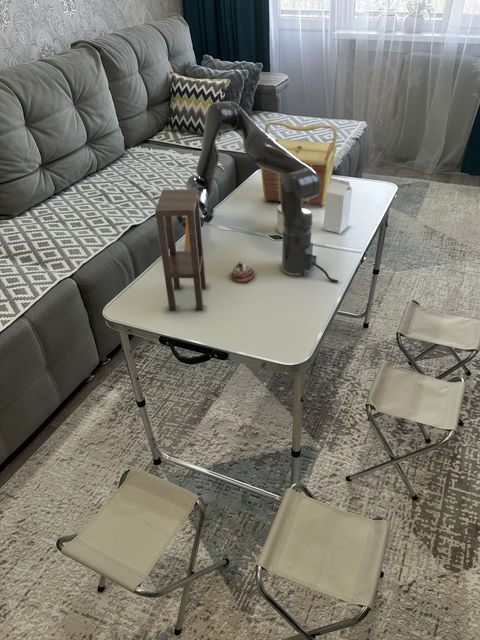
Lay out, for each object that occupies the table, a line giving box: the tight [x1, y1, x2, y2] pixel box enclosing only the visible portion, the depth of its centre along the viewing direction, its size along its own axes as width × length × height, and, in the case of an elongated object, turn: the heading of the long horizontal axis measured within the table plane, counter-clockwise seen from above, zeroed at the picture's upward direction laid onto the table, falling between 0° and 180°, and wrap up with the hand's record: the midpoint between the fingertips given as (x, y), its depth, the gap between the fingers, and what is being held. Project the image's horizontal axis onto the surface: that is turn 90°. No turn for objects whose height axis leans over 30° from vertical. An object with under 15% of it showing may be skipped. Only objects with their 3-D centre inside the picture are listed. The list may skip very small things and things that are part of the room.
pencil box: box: [183, 216, 191, 251], centre depth 171 cm, size 22×4×3 cm, turn 0°
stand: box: [154, 189, 207, 312], centre depth 149 cm, size 14×10×32 cm
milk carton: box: [322, 177, 353, 234], centre depth 190 cm, size 7×7×19 cm
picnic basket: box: [260, 121, 338, 207], centre depth 210 cm, size 29×26×30 cm
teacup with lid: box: [276, 204, 283, 235], centre depth 192 cm, size 12×9×12 cm
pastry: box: [230, 261, 255, 283], centre depth 167 cm, size 8×8×5 cm
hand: (192, 225), depth 171 cm, fingers closed on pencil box, 4 cm apart
